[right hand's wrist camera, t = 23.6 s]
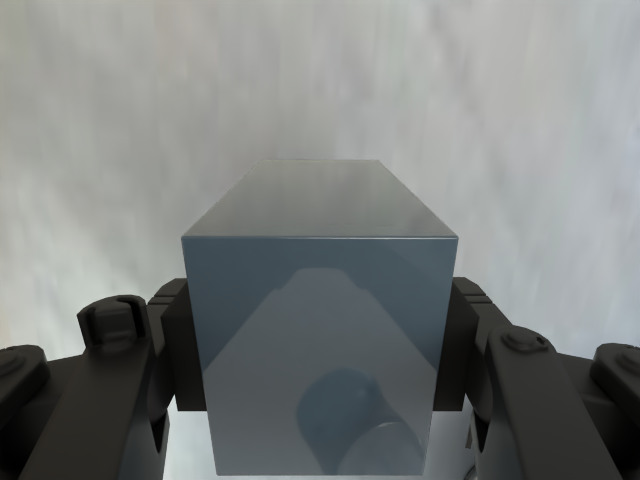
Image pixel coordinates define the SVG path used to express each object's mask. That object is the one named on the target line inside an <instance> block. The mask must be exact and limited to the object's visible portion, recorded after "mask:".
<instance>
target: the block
mask: <svg viewBox="0 0 640 480" xmlns="http://www.w3.org/2000/svg"><path fill="white" fill-rule="evenodd" d="M458 239H459V238H458V236H457V235H456V234H455V233H454V232H453V231H452V230H451V229H450V228H449V227H448V226H447V225H446V224H445V223H444V222H443V221H442V220H441V219H440V218H438V217H437V216H436V215H435V214H434V213H433V212H432V211H431V210H430V209H429V208H428V207H427V206H426V205H425V204H424V203H423V202H422V201H421V200H420V199H419V198H418V197H417V196H415V195H414V194H413V193H412V192H411V191H410V190H409V189H408V188H407V187H406V186H405V185H404V184H403V183H402V182H401V181H400V180H399V179H398V178H397V177H396V176H395V175H394V174H393V173H391V172H390V171H389V170H388V169H387V168H386V167H385V166H384V165H383V164H382V163H381V162H380V161H379V160H261V161H260V162H259V163H258V164H257V165H256V166H255V167H254V168H253V169H252V170H251V171H249V172H248V173H247V174H246V175H245V176H244V177H243V178H242V179H241V180H240V181H239V182H238V183H237V184H236V185H235V186H234V187H233V188H232V189H231V190H230V191H228V192H227V193H226V194H225V195H224V196H223V197H222V198H221V199H220V200H219V201H218V202H217V203H216V204H215V205H214V206H213V207H212V208H211V209H210V210H209V211H207V212H206V213H205V214H204V215H203V216H202V217H201V218H200V219H199V220H198V221H197V222H196V223H195V224H194V225H193V226H192V227H191V228H190V229H189V230H188V231H186V232H185V233H184V234H183V235H182V236H181V241H182V248H183V255H184V261H185V268H186V274H187V281H188V288H189V294H190V301H191V307H192V314H193V321H194V327H195V334H196V341H197V347H198V354H199V360H200V367H201V374H202V380H203V387H204V394H205V400H206V407H207V413H208V420H209V427H210V433H211V440H212V446H213V453H214V460H215V466H216V473H217V475H218V476H422V475H423V470H424V464H425V457H426V451H427V444H428V437H429V431H430V424H431V418H432V411H433V404H434V398H435V391H436V384H437V378H438V371H439V365H440V358H441V351H442V345H443V338H444V332H445V325H446V318H447V312H448V305H449V298H450V292H451V285H452V279H453V272H454V265H455V259H456V252H457V246H458Z"/></svg>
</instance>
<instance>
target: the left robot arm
mask: <svg viewBox="0 0 640 480" xmlns="http://www.w3.org/2000/svg"><path fill="white" fill-rule="evenodd" d="M465 480H478V479H477V472H476V466H474V467H473V469H472V470H471V471H470V472H469V473H468V475H467V476H466V478H465Z"/></svg>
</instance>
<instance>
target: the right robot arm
mask: <svg viewBox="0 0 640 480" xmlns="http://www.w3.org/2000/svg"><path fill="white" fill-rule="evenodd" d="M77 318H78V322H79V325H80V329H81V332H82V336H83V339H84V343H85V346H86V348H85V350H84V352H83V354H82V355H78V356H73V357H68V358H63V359H58V360H52V361H47V359H46V356H45V353H44V351H43V349H42V348H40V347H39V346H35V345H20V346H12V347H8V348H6V349H5V348H4V349H1V350H0V480H163V473H164V465H165V457H166V450H167V442H168V434H169V427H170V422H169V416H168V411H167V408H168V406H169V404H170V402H171V400H172V398H173V396H174V394H175V399H176V404H177V409H178V411H207V407H206V400H205V394H204V387H203V380H202V374H201V367H200V360H199V354H198V347H197V341H196V334H195V327H194V321H193V314H192V307H191V301H190V294H189V288H188V281H187V278H175V279H174V280H172V281H170V282H168V283H167V284H165V285H163V286H162V287H161V288H160V289H159V290H158V292H157V293H156V294H155V295H154V297H152V298H151V300H150V301H149V302H148V304H147V305H146V303H145V300H144V299H143V298H141V297H140V296H135V295H117V296H112V297H108V298H104V299H101V300H99V301H96V302H93V303H92V304H90V305H88V306H86V307H85V308H83V309H82V310H81V311H80V312H79V313H78V314H77ZM465 393H466V395H467V397H468V399H469V401H470V402H471V404H472V406H473V411H472V416H471V420H470V425H469V430H468V435H467V440H466V447H465V448H469V449H470V448H471V444H472V441H473V449H474V457H475V464H476V472H477V479H478V480H640V348H639V347H634V346H632V345H627V344H618V343H607V344H602V345H601V346H599V347H598V348H597V350H596V352H595V355H594V358H593V360H591V359H586V358H581V357H575V356H570V355H565V354H561V353H557V352H556V350H555V348H554V346H553V345H552V344H551V343H550V342H549V340H548V339H546V338H545V337H543V336H542V335H540V334H539V333H537V332H534V331H532V330H530V329H527V328H524V327H520V326H515V325H512V323H511V322H510V321H509V320H508V319H507V318H506V317H505V315H504V314H503V313H502V312H501V311H500V310H499V309H498V307H497V306H496V305H495V304H493V303H492V301H491V299H490V298H489V297H488V296H486V294H485V293H484V291H483V290H482V289H481V288H480V287H479V286H478V285H477V284H475V283H474V282H472V281H470V280H468V279H467V278H465V277H453V279H452V285H451V292H450V298H449V305H448V312H447V318H446V325H445V332H444V338H443V345H442V351H441V358H440V365H439V371H438V378H437V384H436V391H435V398H434V404H433V411H462V408H463V402H464V397H465Z"/></svg>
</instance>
